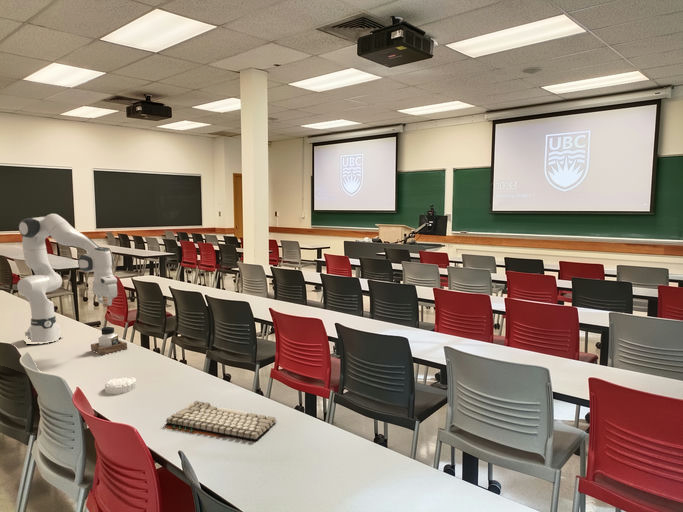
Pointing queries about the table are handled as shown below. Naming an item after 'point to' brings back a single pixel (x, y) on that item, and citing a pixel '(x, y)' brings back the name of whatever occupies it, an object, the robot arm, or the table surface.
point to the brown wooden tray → (109, 348)
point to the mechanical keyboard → (220, 422)
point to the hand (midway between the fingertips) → (105, 304)
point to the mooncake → (120, 385)
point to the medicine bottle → (108, 337)
